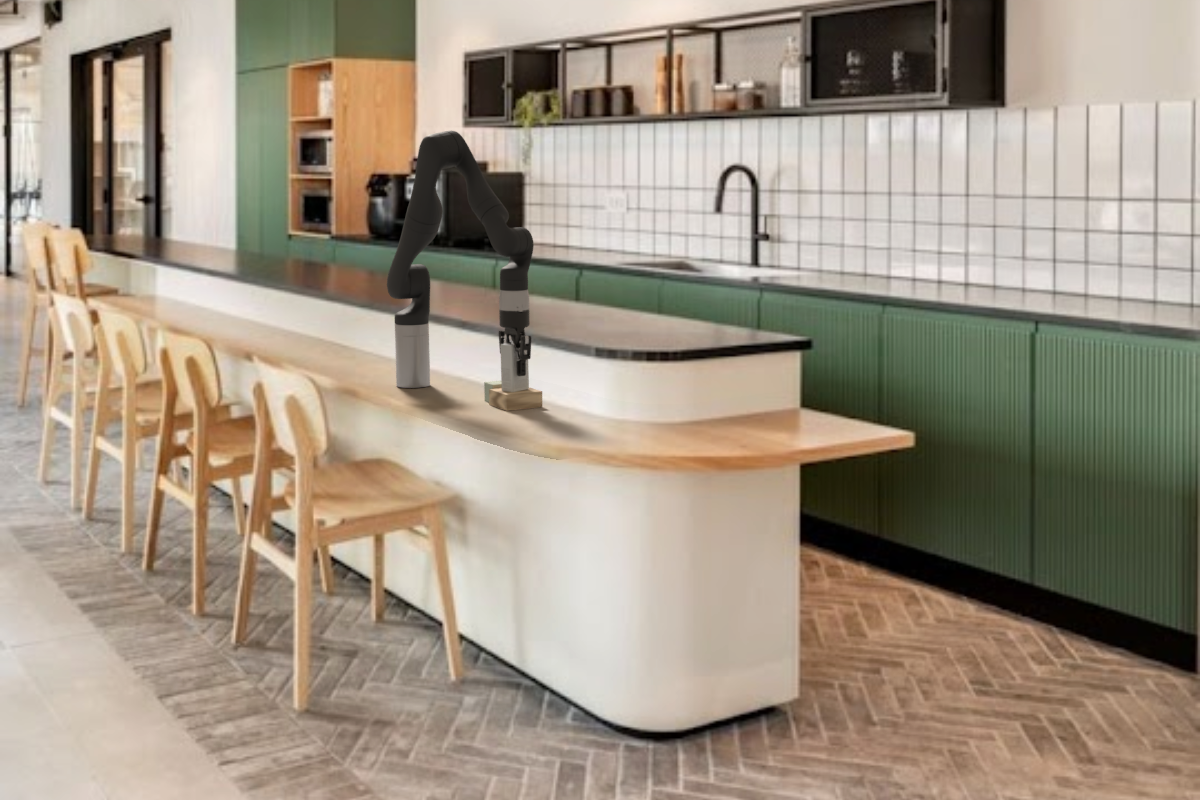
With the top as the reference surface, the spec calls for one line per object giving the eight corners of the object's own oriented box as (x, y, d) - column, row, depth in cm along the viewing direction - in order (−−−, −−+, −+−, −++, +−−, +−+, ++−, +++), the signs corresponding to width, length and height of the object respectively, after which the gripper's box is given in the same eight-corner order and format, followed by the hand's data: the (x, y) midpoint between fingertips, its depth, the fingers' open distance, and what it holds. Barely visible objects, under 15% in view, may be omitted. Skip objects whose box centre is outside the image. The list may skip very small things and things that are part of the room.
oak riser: (489, 404, 372) (489, 389, 371) (524, 401, 377) (524, 385, 376) (506, 410, 363) (506, 394, 363) (542, 407, 368) (542, 391, 368)
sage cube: (484, 401, 378) (484, 382, 377) (502, 399, 380) (501, 380, 379) (493, 404, 374) (492, 384, 373) (510, 402, 376) (510, 383, 375)
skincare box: (517, 387, 373) (516, 341, 371) (529, 389, 370) (528, 342, 368) (500, 390, 368) (499, 343, 366) (512, 392, 366) (512, 345, 364)
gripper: (488, 306, 370) (489, 371, 373) (513, 311, 358) (514, 379, 361) (514, 304, 374) (515, 369, 377) (540, 309, 361) (541, 376, 364)
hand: (515, 373), depth 369 cm, fingers open, 6 cm apart
